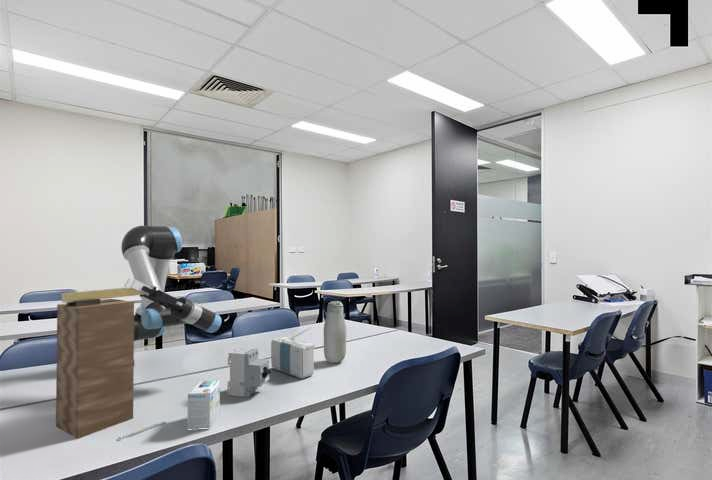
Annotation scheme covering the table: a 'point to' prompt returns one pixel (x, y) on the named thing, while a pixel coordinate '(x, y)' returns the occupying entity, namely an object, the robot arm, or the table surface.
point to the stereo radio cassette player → (293, 356)
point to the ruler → (141, 430)
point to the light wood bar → (100, 294)
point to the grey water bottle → (334, 333)
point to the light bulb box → (203, 404)
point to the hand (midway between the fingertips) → (129, 283)
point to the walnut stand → (94, 365)
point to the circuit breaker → (246, 371)
